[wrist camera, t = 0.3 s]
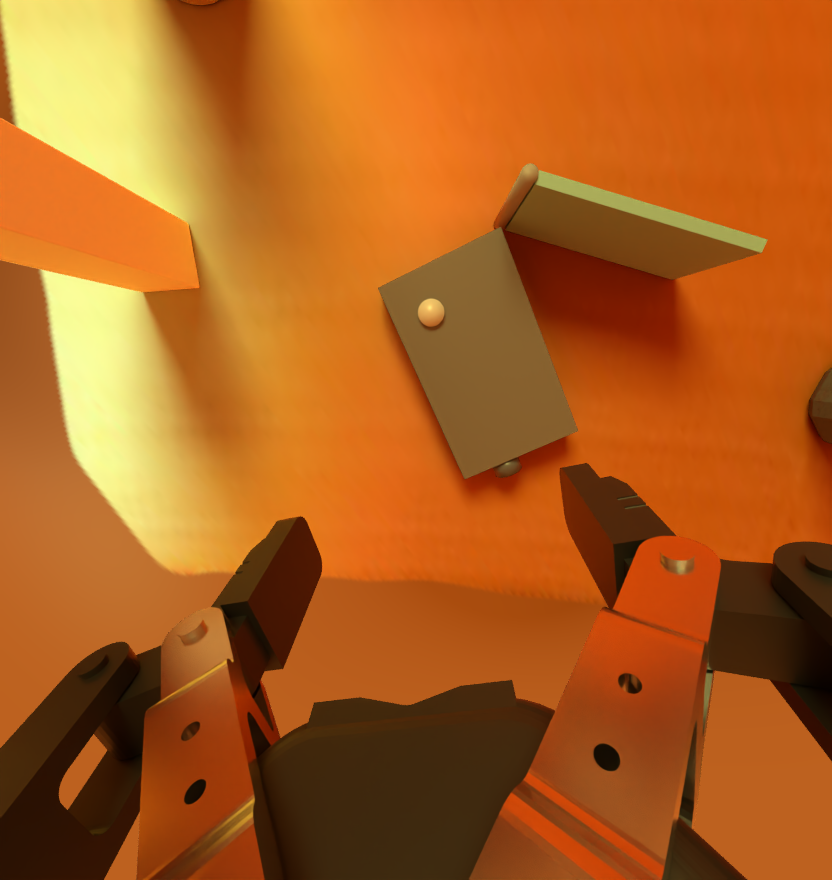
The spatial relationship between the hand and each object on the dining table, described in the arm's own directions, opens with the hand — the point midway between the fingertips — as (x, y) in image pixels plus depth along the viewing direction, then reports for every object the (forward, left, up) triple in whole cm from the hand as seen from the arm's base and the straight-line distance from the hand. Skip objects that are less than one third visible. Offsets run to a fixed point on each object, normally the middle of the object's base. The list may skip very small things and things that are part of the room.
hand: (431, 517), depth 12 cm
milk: (-24, -17, -29) cm, 42 cm away
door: (-7, +20, -29) cm, 36 cm away
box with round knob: (-2, +7, -29) cm, 30 cm away
